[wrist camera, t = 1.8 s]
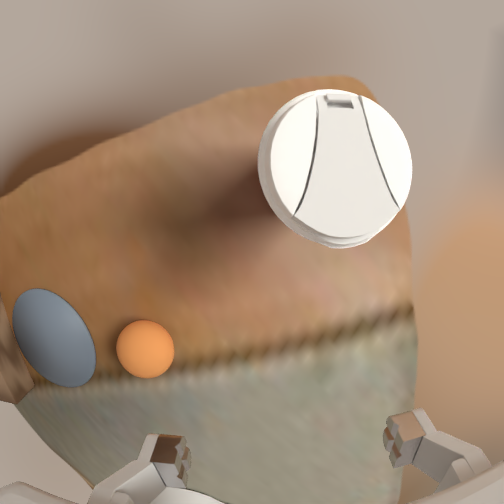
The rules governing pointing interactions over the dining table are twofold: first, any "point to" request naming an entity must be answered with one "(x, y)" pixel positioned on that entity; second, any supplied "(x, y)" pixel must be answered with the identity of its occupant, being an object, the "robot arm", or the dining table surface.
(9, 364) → the block
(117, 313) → the dining table surface
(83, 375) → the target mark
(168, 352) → the ball
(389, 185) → the paper cup
